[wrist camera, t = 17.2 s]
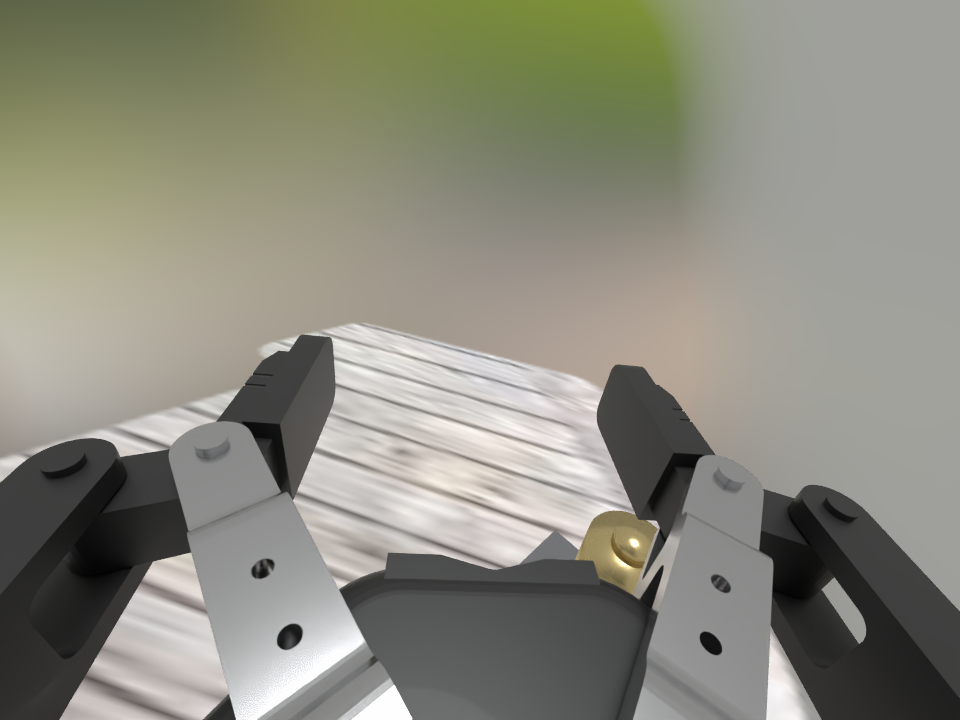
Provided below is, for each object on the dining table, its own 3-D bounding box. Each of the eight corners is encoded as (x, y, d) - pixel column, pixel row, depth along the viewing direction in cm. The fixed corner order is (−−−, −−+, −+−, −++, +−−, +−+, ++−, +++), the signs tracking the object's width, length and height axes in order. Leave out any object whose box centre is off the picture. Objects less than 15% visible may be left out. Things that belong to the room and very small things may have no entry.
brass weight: (592, 702, 26) (661, 603, 20) (532, 636, 29) (575, 531, 22) (629, 644, 29) (699, 542, 23) (572, 590, 32) (619, 486, 26)
